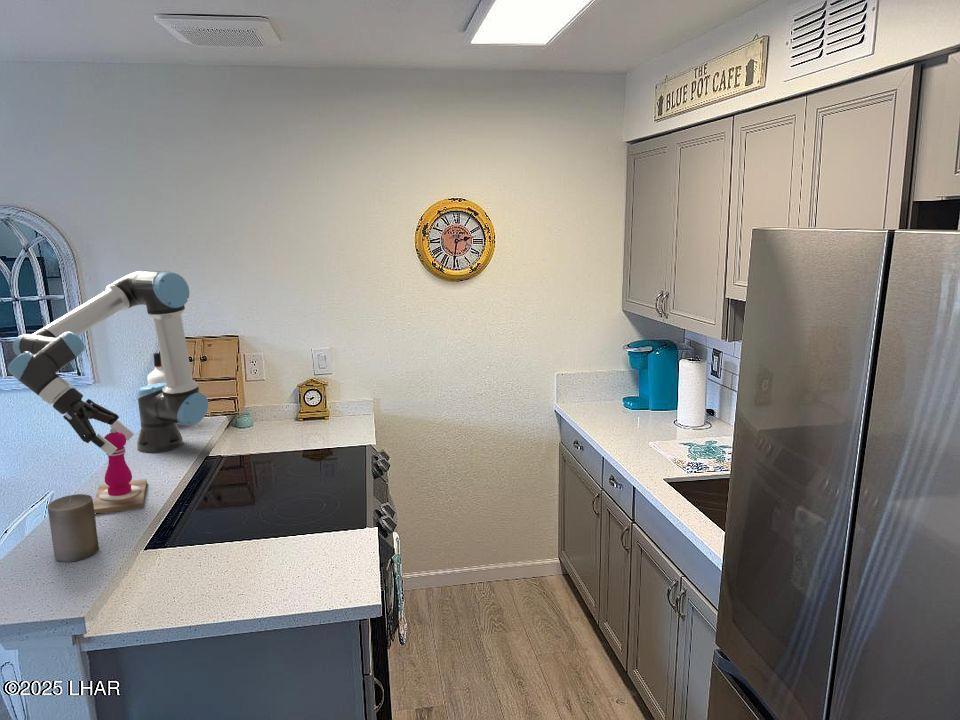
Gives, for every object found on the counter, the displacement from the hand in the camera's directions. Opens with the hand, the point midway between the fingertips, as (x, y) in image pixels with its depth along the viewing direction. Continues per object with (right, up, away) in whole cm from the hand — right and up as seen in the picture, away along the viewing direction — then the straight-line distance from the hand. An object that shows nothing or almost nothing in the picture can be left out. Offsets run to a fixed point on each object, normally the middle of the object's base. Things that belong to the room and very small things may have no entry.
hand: (122, 444), depth 200 cm
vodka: (-22, -2, +74) cm, 77 cm away
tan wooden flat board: (-2, -16, +3) cm, 17 cm away
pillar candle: (+4, -23, -30) cm, 38 cm away
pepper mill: (-2, -15, +3) cm, 15 cm away
